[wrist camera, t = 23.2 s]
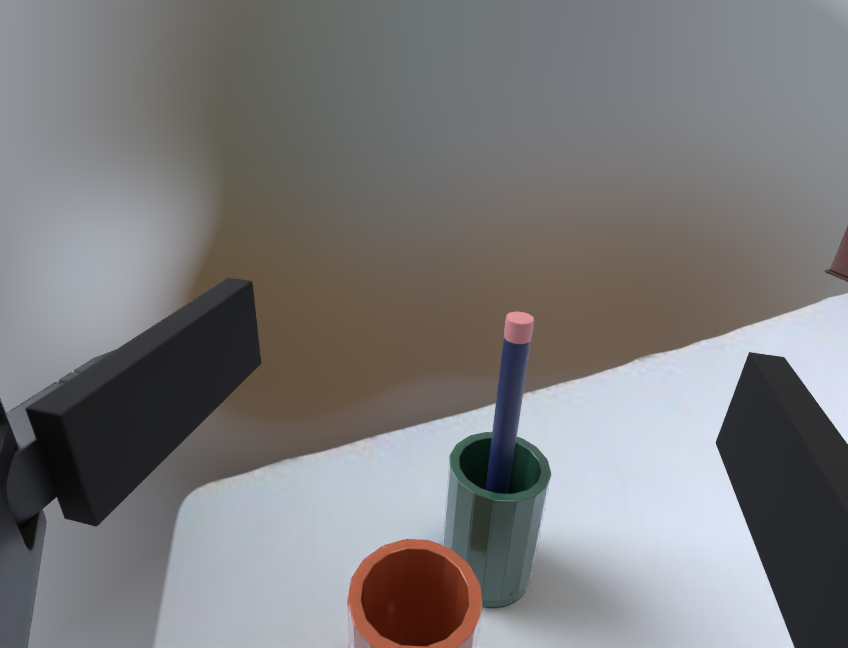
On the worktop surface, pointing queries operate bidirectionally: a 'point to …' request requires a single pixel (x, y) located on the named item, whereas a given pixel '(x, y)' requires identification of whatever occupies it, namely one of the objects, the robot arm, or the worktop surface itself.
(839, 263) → the desk organizer
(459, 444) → the green cup
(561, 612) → the worktop surface
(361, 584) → the terracotta cup
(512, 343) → the pencil
